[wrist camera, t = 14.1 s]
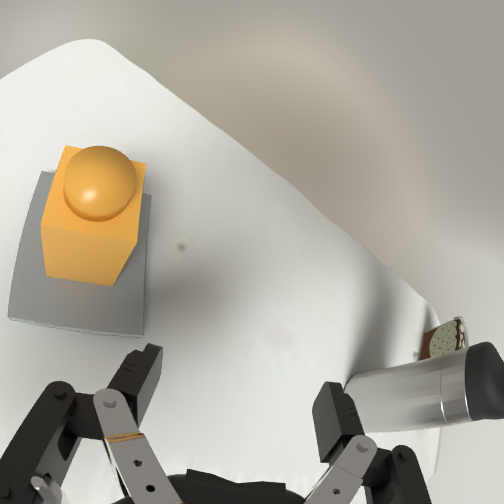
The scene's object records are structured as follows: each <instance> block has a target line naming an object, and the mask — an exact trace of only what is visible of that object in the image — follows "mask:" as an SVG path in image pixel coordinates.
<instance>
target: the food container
mask: <svg viewBox="0 0 504 504" xmlns="http://www.w3.org/2000/svg"><path fill="white" fill-rule="evenodd" d="M466 347H469V344H468V335H467V330H466V326H465V322H464V320H463V317H455V318H454V320H452V321H450V322H447V323H445V324H443V325H440V326H438V327H435V328H433V329H430V330H428V331H425V332H423V336H422V341H421V347H420V352H419V357H418V361H421V360H425V359H428V358H432V357H436V356H440V355H443V354H447V353H450V352H453V351H457V350H460V349H463V348H466Z"/></svg>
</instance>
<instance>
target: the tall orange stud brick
mask: <svg viewBox="0 0 504 504" xmlns="http://www.w3.org/2000/svg"><path fill="white" fill-rule="evenodd" d="M145 169H146V164H143V163H140V162H136V161H132V160H129V159H128V158H127V157H126V156H125V155H124V154H123V153H121V152H119V151H118V150H116V149H113V148H110V147H105V146H92V147H88V148H85V149H81V148H76V147H72V146H67V145H66V146H65V148H64V151H63V153H62V156H61V159H60V162H59V164H58V167H57V170H56V173H55V176H54V179H53V182H52V185H51V188H50V192H49V195H48V198H47V202H46V205H45V209H44V213H43V217H42V220H41V236H42V246H43V255H44V263H45V270H46V276H49V277H55V278H61V279H67V280H73V281H79V282H86V283H92V284H99V285H106V286H113V285H114V283H115V281H116V279H117V277H118V275H119V273H120V272H121V270H122V268H123V266H124V264H125V263H126V261H127V259H128V257H129V256H130V254H131V252H132V250H133V249H134V247H135V245H136V243H137V238H138V226H139V216H140V207H141V199H142V191H143V183H144V176H145Z"/></svg>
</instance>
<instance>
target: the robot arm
mask: <svg viewBox="0 0 504 504" xmlns="http://www.w3.org/2000/svg"><path fill="white" fill-rule="evenodd" d="M162 357H163V347H160V346H157V345H154V344H150V343H148V344H147V345H146V347H145V349H144V350H143V352H141V351H138V350H134V351H132V352H131V353H129V354H128V355H127V356H126V358H125V359H124V361H123V363H122V364H121V366H120V368H119V369H118V371H117V372H116V374H115V375H114V377H113V379H112V380H111V382H110V383H109V385H108V387H107V388H106V389H102V390H99V391H98V392H96V394H83V393H76V392H75V390H74V388H73V387H72V386H71V385H70V384H68V383H66V382H63V381H55V382H52V383H50V384H49V385H48V386H47V387H46V388H45V390H44V391H43V393H42V394H41V396H40V397H39V398H38V400H37V401H36V403H35V404H34V406H33V407H32V409H31V410H30V412H29V413H28V415H27V416H26V418H25V420H24V421H23V423H22V424H21V426H20V427H19V429H18V431H17V432H16V434H15V435H14V437H13V439H12V440H11V442H10V444H9V445H8V447H7V449H6V450H5V452H4V454H3V455H2V457H1V459H0V504H69V501H68V498H67V497H66V495H65V494H64V492H63V491H62V489H61V485H62V483H63V480H64V478H65V476H66V473H67V471H68V469H69V466H70V464H71V462H72V459H73V457H74V455H75V453H76V450H77V448H78V446H79V444H80V442H81V439H82V438H89V439H97V440H101V441H102V443H103V446H104V449H105V452H106V454H107V457H108V460H109V462H110V465H111V467H112V470H113V472H114V475H115V478H116V480H117V483H118V485H119V488H120V490H121V492H122V494H123V496H124V498H123V499H121V500H119V501H116V502H114V503H112V504H350V502H351V501H352V499H353V497H354V496H355V494H356V493H357V491H358V489H359V488H360V486H364V489H365V495H366V501H367V504H432V503H431V500H430V497H429V494H428V490H427V487H426V484H425V481H424V478H423V475H422V472H421V469H420V466H419V463H418V460H417V457H416V455H415V453H414V451H413V450H412V449H411V448H409V447H408V446H405V445H398V446H396V447H394V449H393V450H392V451H390V450H386V449H381V448H378V447H377V445H376V443H375V442H374V441H373V440H372V439H371V438H369V437H367V436H365V433H378V432H398V431H410V430H420V429H429V428H436V427H443V426H450V425H455V424H461V423H466V422H472V421H477V420H482V419H493V420H494V419H503V418H504V362H503V360H502V359H501V357H500V355H499V354H498V352H497V350H496V348H495V347H494V345H493V344H492V343H490V342H482V343H479V344H476V345H473V346H470V347H466V348H463V349H460V350H457V351H453V352H450V353H447V354H443V355H440V356H436V357H432V358H428V359H425V360H421V361H416V362H412V363H408V364H404V365H399V366H394V367H390V368H385V369H379V370H374V371H369V372H363V373H358V374H356V375H354V376H353V377H352V378H351V379H350V380H349V382H348V383H347V385H346V388H345V391H343V388H342V385H341V383H336V382H328V381H326V382H325V383H324V384H323V386H322V388H321V390H320V392H319V394H318V396H317V398H316V399H315V401H314V404H313V408H312V414H313V420H314V426H315V432H316V438H317V444H318V450H319V456H320V462H321V463H329V468H328V469H327V470H326V471H325V473H324V474H323V475H322V477H321V478H320V479H319V480H318V482H317V483H316V484H315V485H314V487H313V488H312V489H311V490H310V491H309V493H308V494H307V495H306V496H305V497H304V498H303V497H302V496H300V495H298V494H296V493H294V492H292V491H289V490H286V484H285V483H276V482H265V481H260V482H249V483H235V482H232V481H229V480H226V479H224V478H221V477H219V476H216V475H214V474H210V473H205V472H200V471H196V470H191V469H187V473H186V474H176V475H169V476H166V474H165V473H164V471H163V469H162V467H161V465H160V464H159V462H158V460H157V458H156V456H155V454H154V452H153V450H152V448H151V447H150V445H149V443H148V441H147V439H146V437H145V435H144V434H143V433H140V432H139V430H138V429H139V426H140V424H141V422H142V419H143V417H144V414H145V412H146V410H147V407H148V405H149V403H150V400H151V398H152V396H153V393H154V391H155V389H156V386H157V384H158V382H159V379H160V375H161V368H162Z"/></svg>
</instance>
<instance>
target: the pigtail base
mask: <svg viewBox="0 0 504 504" xmlns="http://www.w3.org/2000/svg"><path fill="white" fill-rule="evenodd" d="M54 176H55V174H54V173H49V172H44V171H42V172H41V175H40V177H39V180H38V183H37V186H36V189H35V191H34V194H33V198H32V201H31V204H30V207H29V210H28V214H27V217H26V221H25V224H24V228H23V232H22V236H21V240H20V244H19V249H18V253H17V258H16V263H15V268H14V273H13V279H12V285H11V292H10V299H9V307H8V317H9V318H10V320H14V321H19V322H25V323H30V324H35V325H41V326H47V327H53V328H59V329H66V330H73V331H80V332H88V333H96V334H105V335H114V336H124V337H135V338H140V337H142V336H144V281H145V260H146V245H147V232H148V220H149V210H150V201H151V195H147V194H142V199H141V207H140V216H139V226H138V238H137V243H136V245H135V247H134V249H133V250H132V252H131V254H130V256H129V257H128V259H127V261H126V263H125V264H124V266H123V268H122V270H121V272H120V273H119V275H118V277H117V279H116V281H115V283H114V285H113V286H106V285H99V284H92V283H86V282H79V281H73V280H67V279H61V278H55V277H49V276H46V270H45V263H44V255H43V246H42V236H41V220H42V217H43V213H44V209H45V205H46V202H47V198H48V195H49V192H50V188H51V185H52V182H53V179H54Z"/></svg>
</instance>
